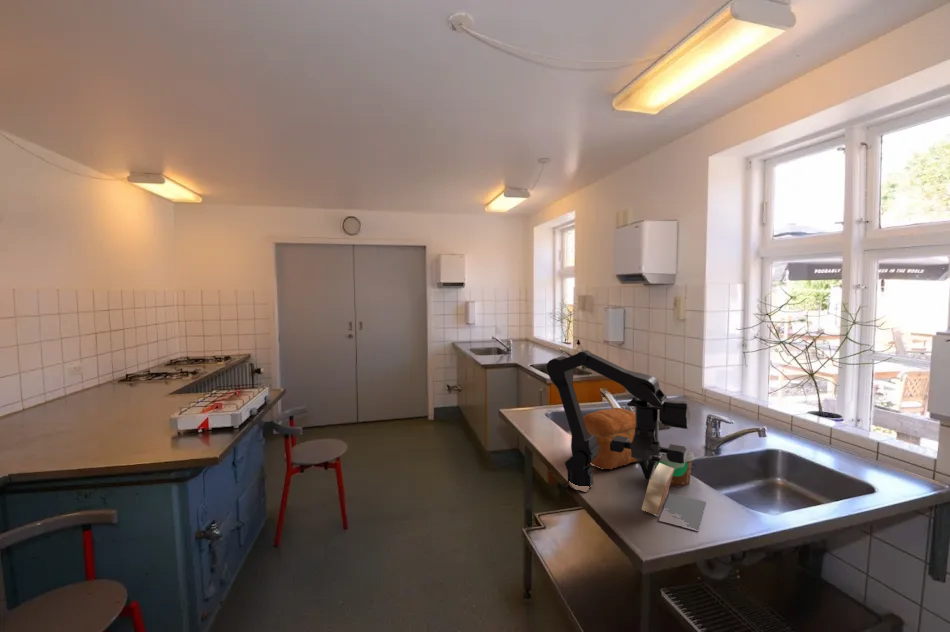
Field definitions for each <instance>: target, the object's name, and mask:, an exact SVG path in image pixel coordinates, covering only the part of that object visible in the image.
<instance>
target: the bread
mask: <svg viewBox="0 0 950 632" xmlns="http://www.w3.org/2000/svg"><path fill="white" fill-rule="evenodd" d="M583 419H584V423H585V426H586V429H587V431H588V432H589V434H590V435H591V436H592V435H596V439H597V443H598V445H599V446H600V448H599V449H598V451H599V453H598V455H597V457H596V458H595V459H594V460H593V461H592V462H591V463H592V464H594V465H595V466H598V467H600V468H603V469H610V470H613V468H615V469H616V468H619V467H623V465H624V466H626V465H629V464H630V463H637V462H638V460H637V459H636V458H633V457H632V456H631V455H632V454H631V449H627V448H624V450H623V451H622V452H621V453H620V452H615V451H611V450H610V442H611V441H612V439H613V438H614V437H616V436H622V437H629V440H630V442H632V440H633V437H634V434H635V428H636V419H635V412H633V411H631V410H629V409H625V408H621V407H612V408H608V409H607V408H605V409H601V410H599V409H598V410H596V411H593V412H589V413H587V414H585V415H584V416H583ZM603 469H602V470H603Z"/></svg>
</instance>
